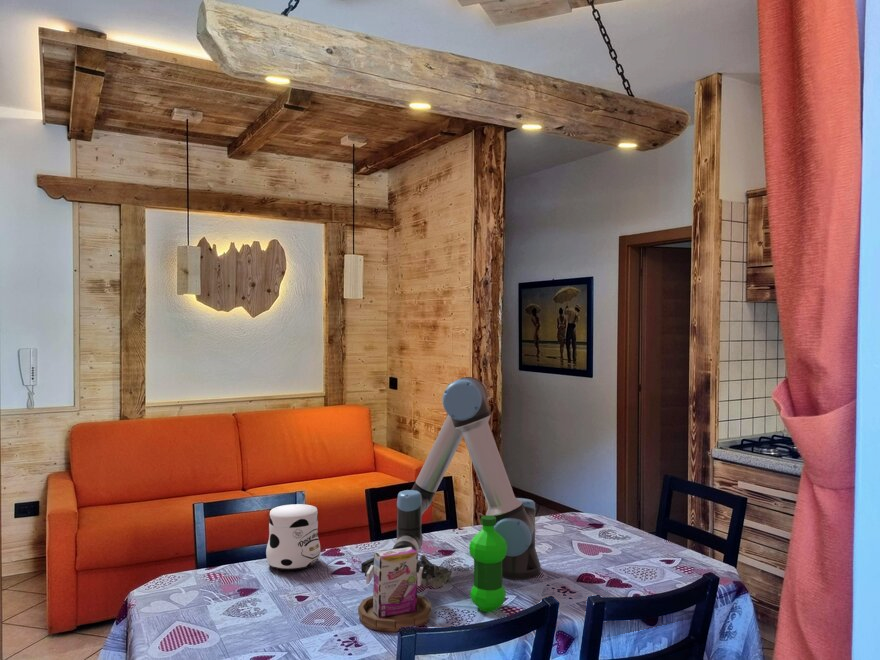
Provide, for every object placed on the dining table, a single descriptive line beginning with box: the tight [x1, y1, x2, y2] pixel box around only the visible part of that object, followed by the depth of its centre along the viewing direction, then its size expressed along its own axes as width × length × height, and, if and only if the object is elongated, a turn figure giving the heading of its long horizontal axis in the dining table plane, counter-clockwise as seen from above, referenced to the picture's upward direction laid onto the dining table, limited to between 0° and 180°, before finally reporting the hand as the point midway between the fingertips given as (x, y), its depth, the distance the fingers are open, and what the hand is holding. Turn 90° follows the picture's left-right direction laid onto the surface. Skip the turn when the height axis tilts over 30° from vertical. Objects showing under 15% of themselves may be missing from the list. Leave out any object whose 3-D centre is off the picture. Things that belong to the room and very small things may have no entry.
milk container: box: [265, 503, 321, 571], centre depth 218 cm, size 17×17×18 cm
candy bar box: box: [372, 547, 419, 618], centre depth 179 cm, size 11×5×16 cm, turn 117°
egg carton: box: [421, 563, 453, 589], centre depth 204 cm, size 11×8×4 cm
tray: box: [357, 594, 432, 633], centre depth 179 cm, size 19×19×3 cm
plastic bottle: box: [469, 515, 507, 613], centre depth 185 cm, size 10×10×25 cm
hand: (393, 579), depth 176 cm, fingers open, 13 cm apart
